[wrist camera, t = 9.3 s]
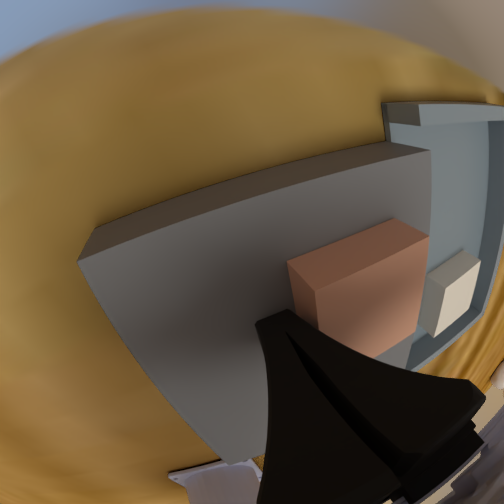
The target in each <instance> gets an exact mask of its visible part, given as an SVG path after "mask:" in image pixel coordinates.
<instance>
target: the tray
mask: <svg viewBox="0 0 504 504" xmlns="http://www.w3.org/2000/svg"><path fill="white" fill-rule="evenodd" d="M381 105H382V112H383V119H384V127H385V135H386V141H388V142H394V143H399V144H405V145H410V146H414V147H419V148H424V149H428V150H431V170H432V194H431V220H430V235H429V248H428V258H427V266H426V274H425V279H426V275H427V274H428V273H430V272H431V271H433V270H434V269H436V268H437V267H439V266H440V265H442V264H443V263H445V262H446V261H448V260H449V259H451V258H452V257H454V256H455V255H456V254H458V253H459V252H461V251H462V250H464V251H466V252H468V253H469V254H471V255H473V256H474V257H476V258H478V259H479V260H481V263H480V267H479V272H478V276H477V281H476V285H475V288H474V292H473V296H472V300H471V303H470V306H469V309H468V310H467V311H466V312H465V313H463V314H462V315H461V316H460V317H459V318H458V319H456V320H455V321H454V322H453V323H452V324H451V325H449V326H448V327H447V328H446V329H444V330H443V331H442V332H441V333H439V334H438V335H437V336H436V337H434V338H433V337H432V336H431V335H430V334H429V333H427V332H426V331H425V330H424V329H423V328H422V327H421V326H419V325H418V322H419V316H420V311H421V306H420V311H419V316H418V321H417V326H416V330H415V333H414V337H413V341H412V345H411V349H410V353H409V357H408V360H407V364H406V367H405V369H406V370H410V371H414V372H417V371H418V370H419V369H421V368H422V367H423V366H425V365H426V364H427V363H429V362H430V361H431V360H433V359H434V358H435V357H437V356H438V355H439V354H440V353H442V352H443V351H444V350H445V349H446V348H448V347H449V346H450V345H451V344H452V343H454V342H455V341H456V340H457V339H458V338H459V337H460V336H462V335H463V334H464V333H465V332H466V331H467V330H468V329H469V328H470V327H472V326H473V325H474V324H475V323H476V322H477V321H478V320H479V319H480V318H481V317H482V316H483V315H484V312H485V309H486V306H487V303H488V300H489V297H490V294H491V291H492V287H493V284H494V280H495V277H496V273H497V269H498V266H499V262H500V257H501V253H502V249H503V244H504V106H501V105H496V104H490V103H479V102H460V101H409V102H389V103H381ZM424 286H425V281H424ZM423 293H424V288H423ZM422 299H423V294H422ZM421 305H422V300H421Z"/></svg>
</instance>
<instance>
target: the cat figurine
mask: <svg viewBox="0 0 504 504" xmlns="http://www.w3.org/2000/svg"><path fill="white" fill-rule="evenodd" d="M491 383H492V384H493V385H494V386H495V387H496V388H498V389H504V361H503V362H502V363H501V364H500V365H499V366H498V367H497V369H496V370H495V372H494V373H493V375H492V377H491ZM503 397H504V391H503Z"/></svg>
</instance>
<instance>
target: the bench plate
mask: <svg viewBox="0 0 504 504" xmlns="http://www.w3.org/2000/svg"><path fill="white" fill-rule="evenodd" d="M431 194H432V170H431V150H428V149H424V148H419V147H414V146H410V145H405V144H399V143H394V142H388V141H384V142H379V143H374V144H369V145H364V146H359V147H354V148H349V149H345V150H340V151H336V152H331V153H327V154H323V155H318V156H314V157H310V158H306V159H302V160H298V161H294V162H290V163H287V164H283V165H279V166H275V167H272V168H268V169H265V170H261V171H258V172H254V173H251V174H247V175H244V176H240V177H237V178H234V179H231V180H227V181H224V182H221V183H218V184H215V185H211V186H208V187H205V188H202V189H199V190H196V191H193V192H190V193H187V194H184V195H181V196H178V197H176V198H173V199H170V200H167V201H164V202H162V203H159V204H156V205H153V206H151V207H148V208H145V209H143V210H140V211H137V212H135V213H132V214H130V215H127V216H124V217H122V218H119V219H117V220H114V221H112V222H109V223H107V224H105V225H102V226H100V227H97V228H95V229H94V230H93V232H92V234H91V236H90V237H89V239H88V241H87V243H86V245H85V247H84V248H83V250H82V252H81V254H80V256H79V258H78V260H77V263H78V265H79V267H80V269H81V271H82V273H83V275H84V277H85V279H86V281H87V282H88V284H89V286H90V288H91V290H92V292H93V293H94V295H95V297H96V299H97V300H98V302H99V304H100V305H101V307H102V309H103V310H104V312H105V314H106V315H107V317H108V319H109V320H110V322H111V323H112V325H113V327H114V328H115V330H116V331H117V333H118V334H119V336H120V337H121V339H122V340H123V342H124V343H125V345H126V346H127V348H128V349H129V351H130V352H131V353H132V355H133V356H134V358H135V359H136V360H137V362H138V363H139V365H140V366H141V367H142V369H143V370H144V371H145V373H146V374H147V375H148V377H149V378H150V379H151V381H152V382H153V383H154V385H155V386H156V387H157V388H158V390H159V391H160V392H161V393H162V395H163V396H164V397H165V398H166V399H167V401H168V402H169V403H170V404H171V405H172V407H173V408H174V409H175V410H176V411H177V412H178V414H179V415H180V416H181V417H182V418H183V419H184V420H185V422H186V423H187V424H188V425H189V426H190V427H191V428H192V429H193V430H194V431H195V433H196V434H197V435H198V436H199V437H200V438H201V439H202V440H203V441H204V442H205V443H206V444H207V445H208V446H209V447H210V448H211V449H212V450H213V451H214V452H215V453H216V454H217V455H218V456H219V457H220V458H221V459H222V460H223V461H224V462H225V463H226V464H227V465H233V464H236V463H239V462H242V461H245V460H248V459H251V458H254V457H257V456H260V455H263V454H265V450H266V441H267V426H268V386H267V373H266V364H265V358H264V354H263V350H262V347H261V344H260V341H259V338H258V334H257V331H256V328H255V325H254V324H255V323H256V321H258V320H261V319H263V318H266V317H268V316H271V315H273V314H276V313H278V312H280V311H283V310H285V309H289V310H291V311H292V312H294V313H295V314H296V309H295V304H294V298H293V293H292V288H291V282H290V277H289V272H288V267H287V261H288V260H291V259H293V258H296V257H298V256H301V255H303V254H306V253H309V252H311V251H314V250H316V249H319V248H321V247H324V246H326V245H329V244H331V243H334V242H336V241H339V240H341V239H344V238H346V237H349V236H351V235H354V234H356V233H359V232H361V231H364V230H366V229H369V228H371V227H374V226H376V225H378V224H381V223H383V222H386V221H388V220H391V219H393V218H395V219H398V220H400V221H402V222H404V223H406V224H408V225H409V226H411V227H413V228H415V229H417V230H419V231H421V232H423V233H425V234H427V235H430V220H431ZM414 333H415V332H414ZM414 333H412V334H411V335H409V336H408V337H406V338H405V339H403V340H402V341H400V342H399V343H397V344H396V345H394V346H393V347H391V348H389V349H388V350H386V351H385V352H383V353H381V354H380V355H378V356H376V357H375V358H373V359H376V360H378V361H381V362H384V363H387V364H390V365H392V366H395V367H399V368H403V369H405V367H406V364H407V360H408V357H409V353H410V349H411V345H412V341H413V337H414Z"/></svg>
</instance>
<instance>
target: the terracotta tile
mask: <svg viewBox="0 0 504 504" xmlns="http://www.w3.org/2000/svg"><path fill="white" fill-rule="evenodd" d="M428 248H429V235H427V234H425V233H423V232H421V231H419V230H417V229H415V228H413V227H411V226H409V225H408V224H406V223H404V222H402V221H400V220H398V219H395V218H393V219H391V220H388V221H386V222H383V223H381V224H378V225H376V226H374V227H371V228H369V229H366V230H364V231H361V232H359V233H356V234H354V235H351V236H349V237H346V238H344V239H341V240H339V241H336V242H334V243H331V244H329V245H326V246H324V247H321V248H319V249H316V250H314V251H311V252H309V253H306V254H303V255H301V256H298V257H296V258H293V259H291V260H288V261H287V267H288V272H289V277H290V282H291V288H292V293H293V298H294V304H295V309H296V315H298V316H299V317H300V318H302V319H303V320H305V321H306V322H307V323H309V324H310V325H312V326H313V327H315V328H316V329H318V330H320V331H321V332H323V333H324V334H326V335H328V336H329V337H331V338H333V339H334V340H336V341H338V342H340V343H342V344H343V345H345V346H347V347H349V348H351V349H353V350H355V351H357V352H360V353H362V354H364V355H366V356H368V357H371V358H375V357H376V356H378V355H380V354H381V353H383V352H385V351H386V350H388V349H389V348H391V347H393V346H394V345H396V344H397V343H399V342H400V341H402V340H403V339H405V338H406V337H408V336H409V335H411V334H412V333H414V332H415V330H416V326H417V321H418V316H419V311H420V306H421V300H422V294H423V288H424V281H425V274H426V266H427V258H428Z"/></svg>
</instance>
